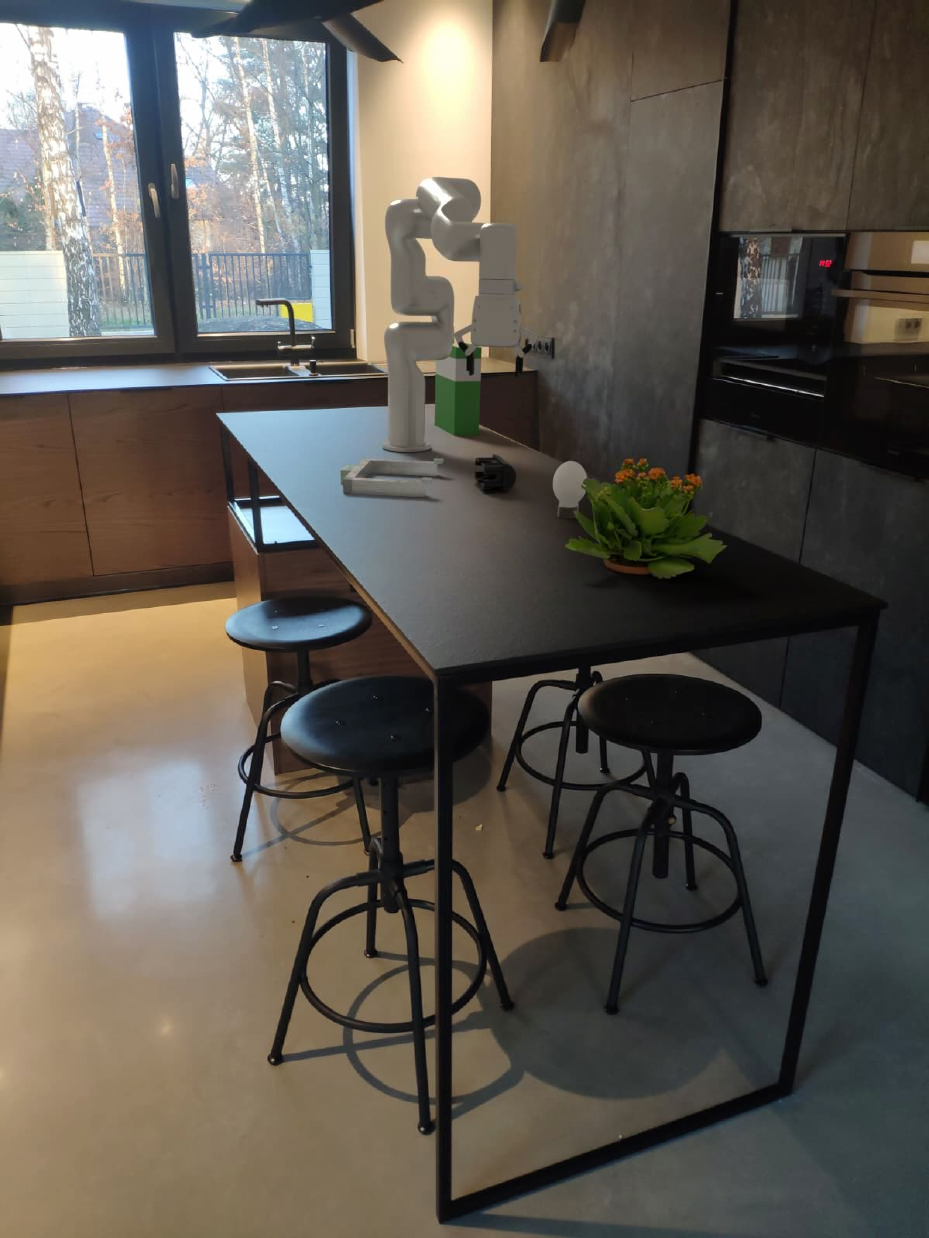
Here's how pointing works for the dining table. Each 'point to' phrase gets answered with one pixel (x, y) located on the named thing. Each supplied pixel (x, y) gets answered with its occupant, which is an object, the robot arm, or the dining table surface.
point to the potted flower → (644, 523)
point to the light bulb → (569, 488)
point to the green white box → (458, 393)
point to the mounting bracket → (360, 484)
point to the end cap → (494, 475)
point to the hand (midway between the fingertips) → (494, 375)
